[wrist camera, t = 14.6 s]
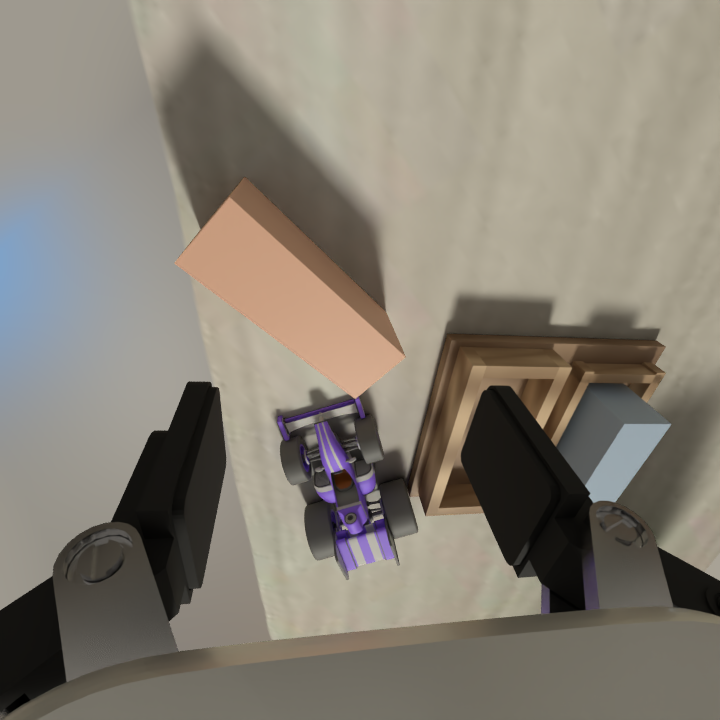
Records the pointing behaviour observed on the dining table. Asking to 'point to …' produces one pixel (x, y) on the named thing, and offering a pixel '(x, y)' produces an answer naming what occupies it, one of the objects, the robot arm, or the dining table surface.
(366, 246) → the dining table surface
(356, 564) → the toy race car
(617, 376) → the jig
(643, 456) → the light blue block
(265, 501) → the dining table surface
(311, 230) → the dining table surface
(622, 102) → the dining table surface
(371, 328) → the salmon orange rectangular block
